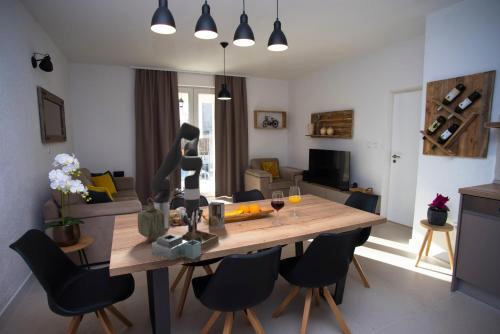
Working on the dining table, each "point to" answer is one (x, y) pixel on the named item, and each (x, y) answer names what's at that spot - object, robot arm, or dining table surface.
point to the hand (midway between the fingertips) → (192, 231)
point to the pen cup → (192, 249)
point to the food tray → (177, 216)
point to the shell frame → (210, 238)
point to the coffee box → (216, 215)
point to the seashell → (197, 237)
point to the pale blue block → (169, 246)
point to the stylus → (193, 230)
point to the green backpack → (151, 222)
